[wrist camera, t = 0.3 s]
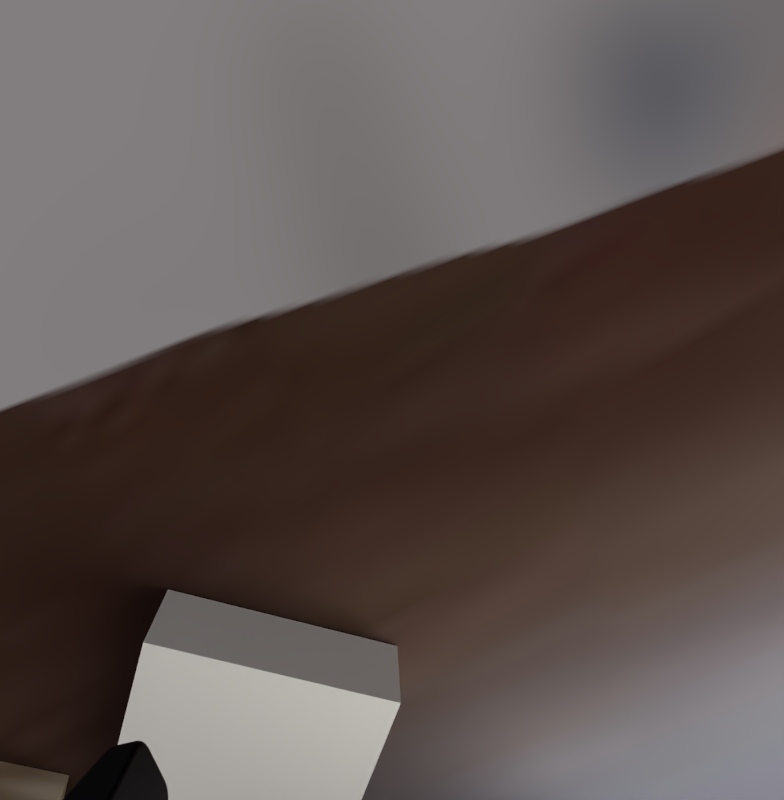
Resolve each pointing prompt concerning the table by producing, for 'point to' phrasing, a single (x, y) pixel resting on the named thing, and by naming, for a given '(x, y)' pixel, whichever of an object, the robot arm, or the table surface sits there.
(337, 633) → the white slotted block
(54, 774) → the wooden peg
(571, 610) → the table surface
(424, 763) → the table surface
